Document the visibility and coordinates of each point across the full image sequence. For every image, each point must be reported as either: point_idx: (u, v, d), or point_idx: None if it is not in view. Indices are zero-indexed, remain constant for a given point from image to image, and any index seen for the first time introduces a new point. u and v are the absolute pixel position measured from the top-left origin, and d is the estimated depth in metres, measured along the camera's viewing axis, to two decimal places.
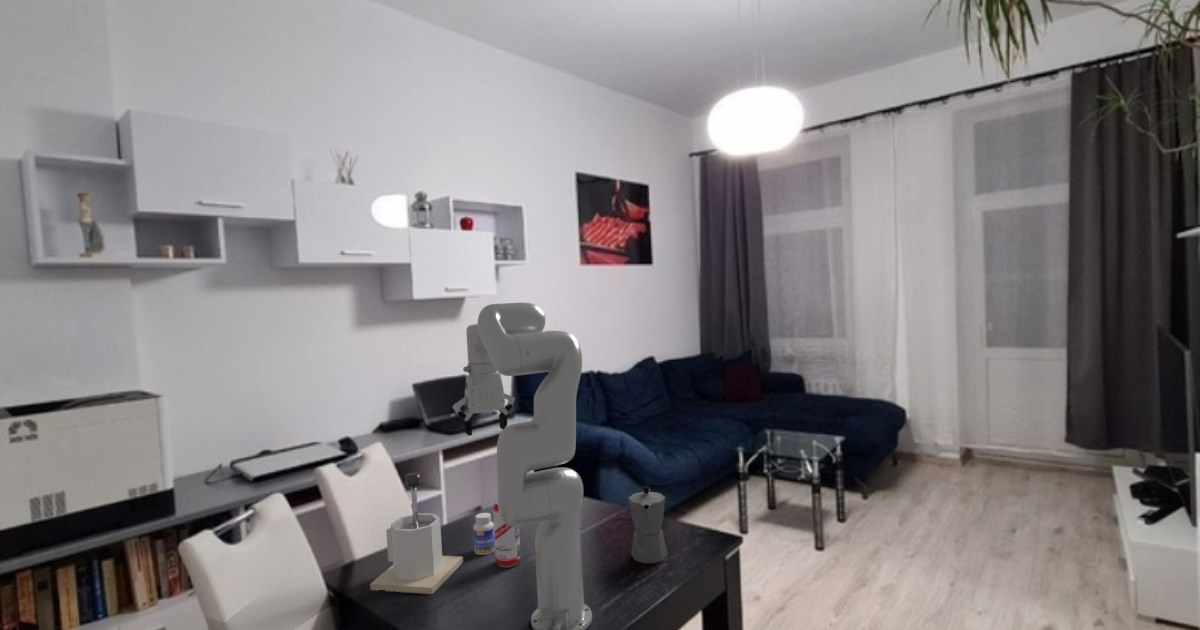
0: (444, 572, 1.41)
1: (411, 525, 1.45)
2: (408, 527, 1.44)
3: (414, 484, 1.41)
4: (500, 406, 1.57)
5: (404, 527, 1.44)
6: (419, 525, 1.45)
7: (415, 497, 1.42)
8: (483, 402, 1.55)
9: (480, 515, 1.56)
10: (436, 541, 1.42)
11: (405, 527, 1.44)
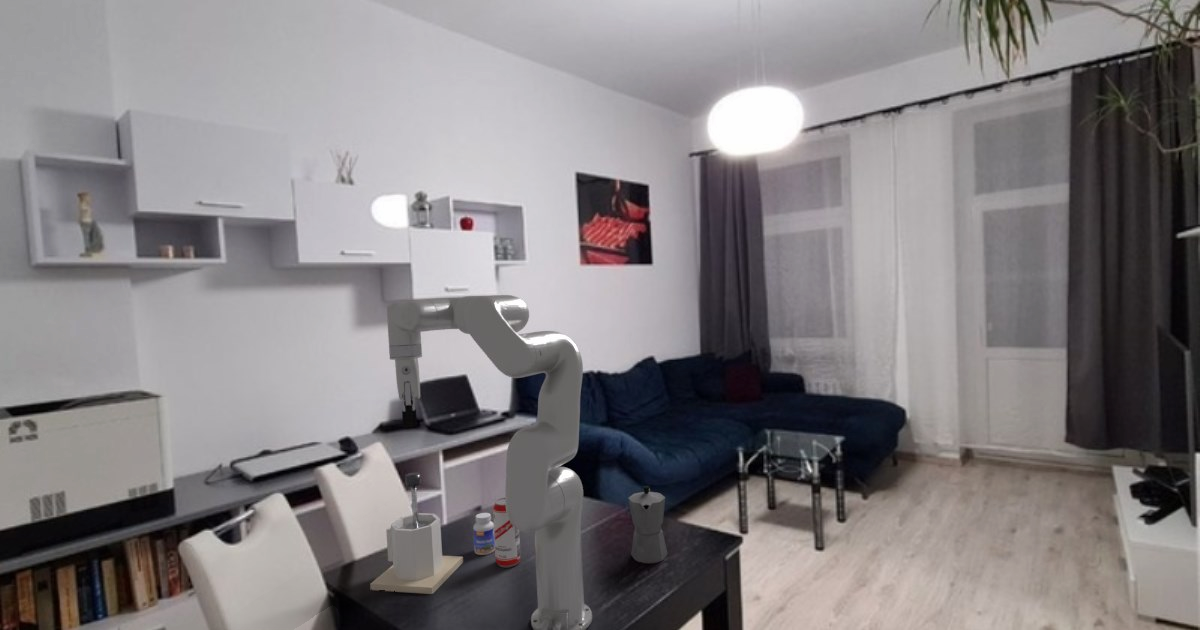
0: (444, 572, 1.41)
1: (411, 525, 1.45)
2: (408, 527, 1.44)
3: (414, 484, 1.41)
4: None
5: (404, 527, 1.44)
6: (419, 525, 1.45)
7: (415, 497, 1.42)
8: None
9: (480, 515, 1.56)
10: (436, 541, 1.42)
11: (405, 527, 1.44)
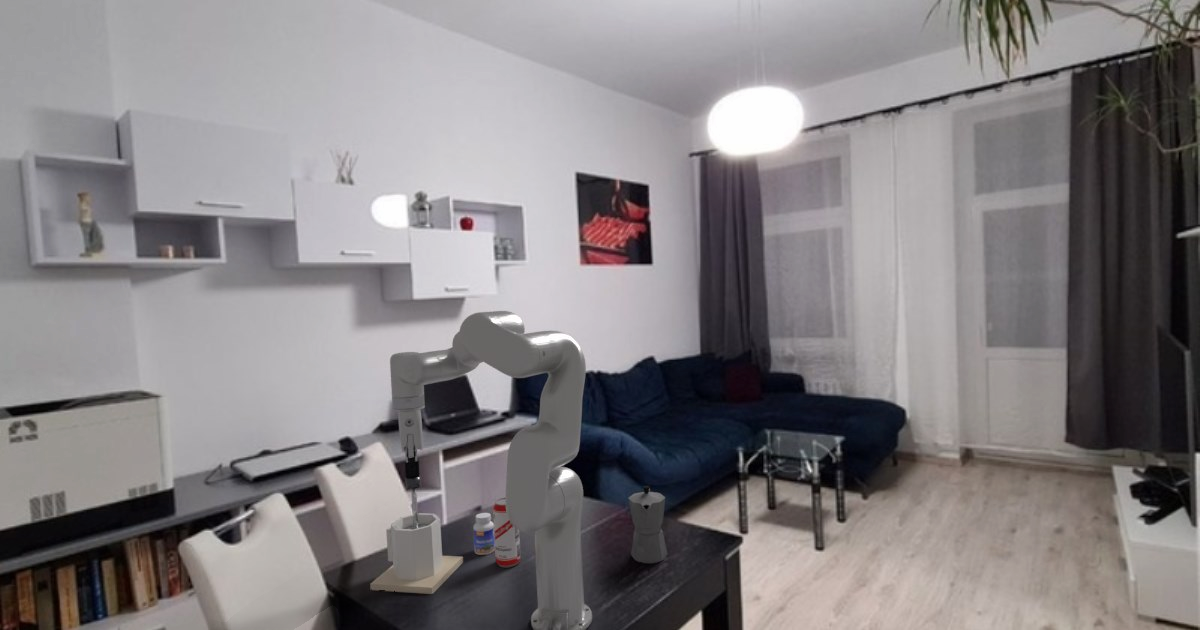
0: (444, 572, 1.41)
1: (411, 527, 1.45)
2: None
3: (414, 486, 1.41)
4: None
5: None
6: (419, 527, 1.45)
7: (415, 499, 1.42)
8: (422, 437, 1.42)
9: (480, 515, 1.56)
10: (436, 541, 1.42)
11: None
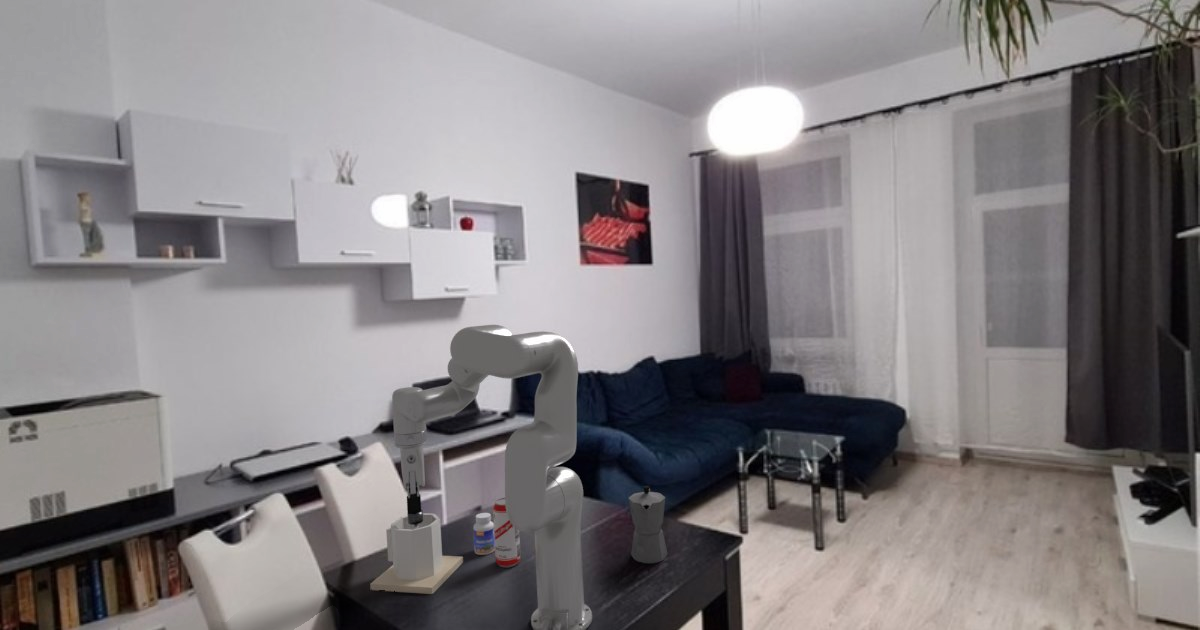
0: (444, 572, 1.41)
1: None
2: None
3: (416, 522, 1.41)
4: None
5: None
6: None
7: None
8: (424, 472, 1.42)
9: (480, 515, 1.56)
10: (436, 541, 1.42)
11: None
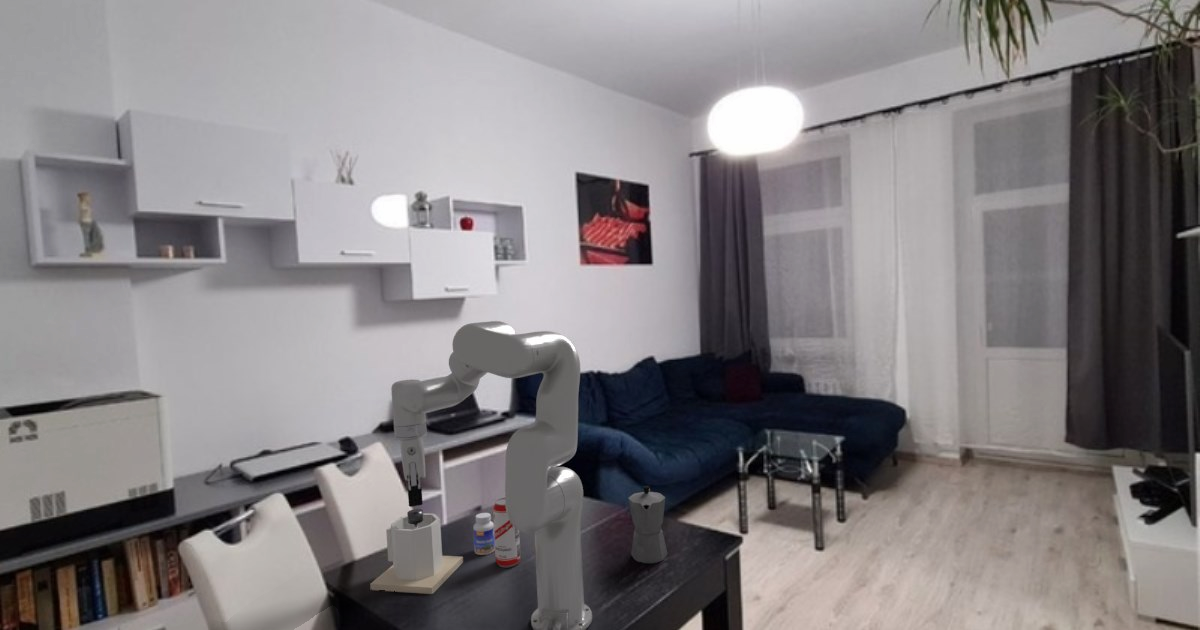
0: (444, 572, 1.41)
1: None
2: None
3: (416, 521, 1.41)
4: None
5: None
6: None
7: None
8: None
9: (480, 515, 1.56)
10: (436, 541, 1.42)
11: None
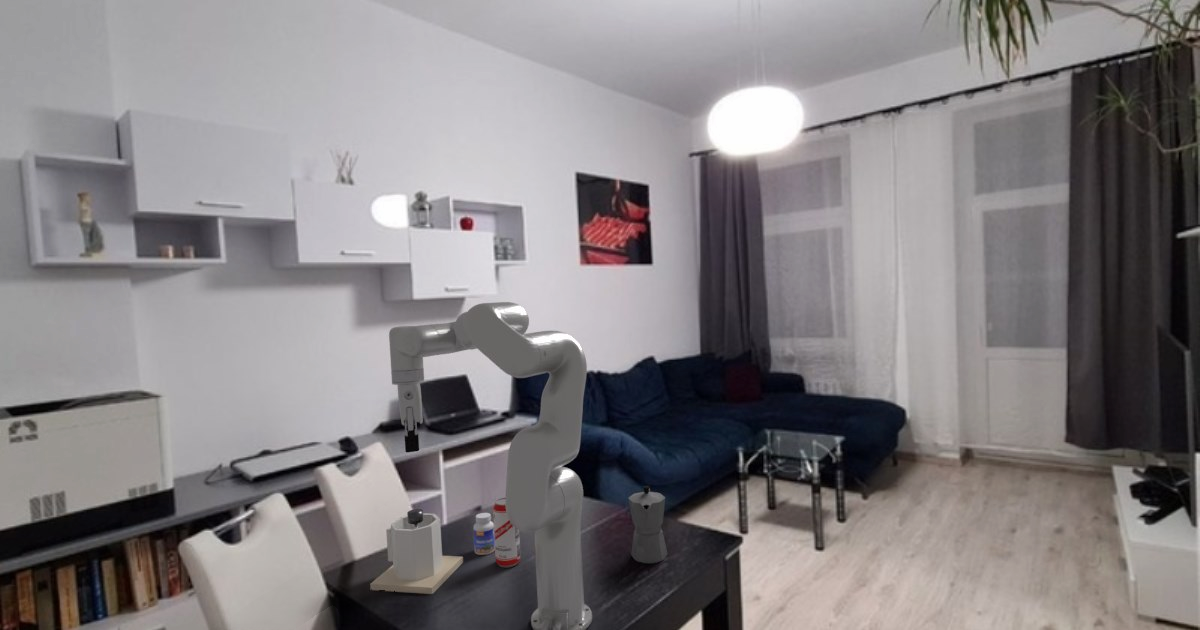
0: (444, 572, 1.41)
1: None
2: None
3: (416, 521, 1.41)
4: None
5: None
6: None
7: None
8: None
9: (480, 515, 1.56)
10: (436, 541, 1.42)
11: None
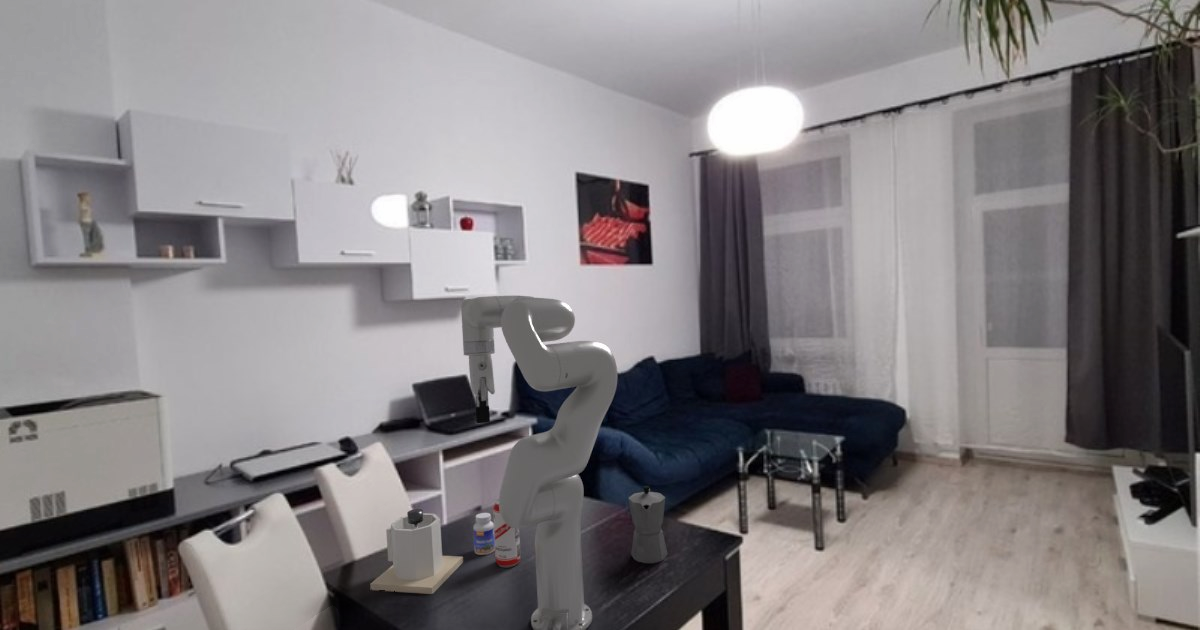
0: (444, 572, 1.41)
1: None
2: None
3: (416, 521, 1.41)
4: None
5: None
6: None
7: None
8: None
9: (480, 515, 1.56)
10: (436, 541, 1.42)
11: None
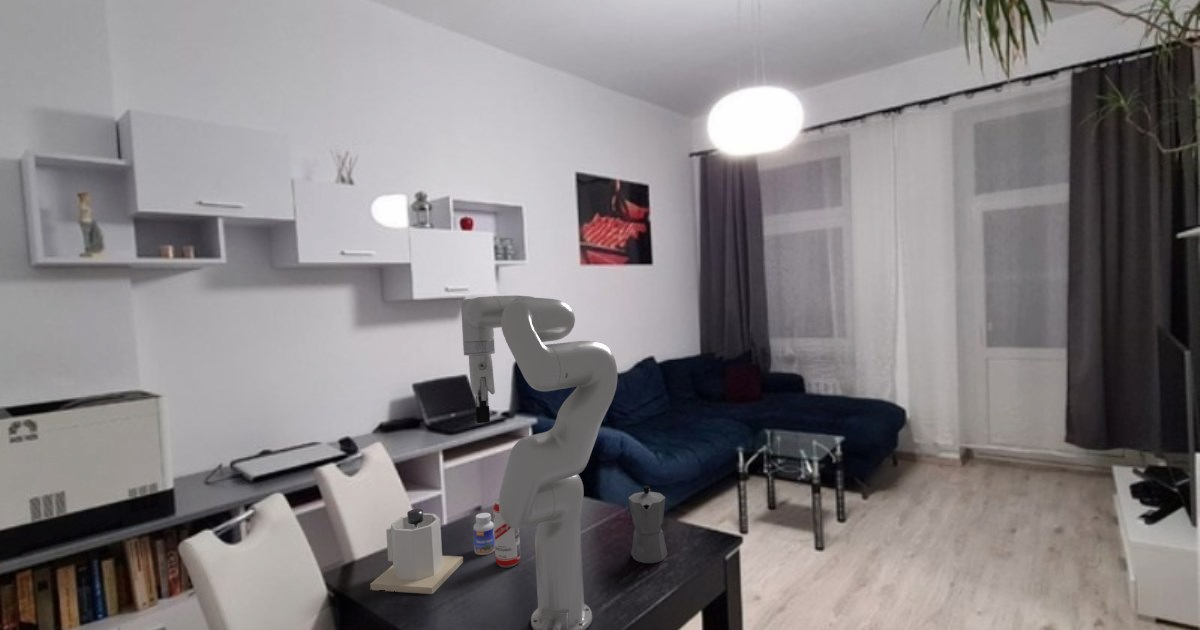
0: (444, 572, 1.41)
1: None
2: None
3: (416, 521, 1.41)
4: None
5: None
6: None
7: None
8: None
9: (480, 515, 1.56)
10: (436, 541, 1.42)
11: None
